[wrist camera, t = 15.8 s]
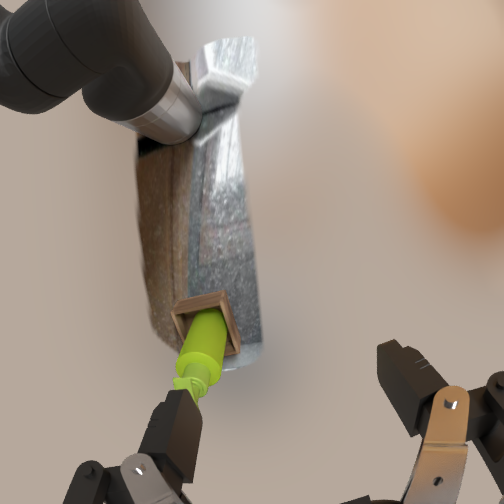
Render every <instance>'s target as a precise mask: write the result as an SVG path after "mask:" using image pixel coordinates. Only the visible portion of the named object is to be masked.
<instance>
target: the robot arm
mask: <svg viewBox="0 0 504 504" xmlns="http://www.w3.org/2000/svg"><path fill="white" fill-rule="evenodd" d="M81 88H82V95H83V99H84V101H85V103H86V105H87V106H88V108H89V109H90V110H91V111H92V112H94V113H95V114H97V115H99V116H101V117H104V118H106V119H108V120H110V121H113V122H115V123H117V124H120V125H122V126H124V127H127V128H129V129H131V130H133V131H135V132H138V133H140V134H142V135H144V136H146V137H149V138H151V139H153V140H155V141H157V142H160V143H162V144H166V145H175V144H179V143H182V142H184V141H186V140H187V139H189V138H190V137H191V136H192V135H193V134H194V133H195V132H196V131H197V129H198V128H199V126H200V123H201V120H202V108H201V105H200V103H199V101H198V99H197V98H196V96H195V94H194V92H193V91H192V89H191V87H190V86H189V84H188V83H187V81H186V79H185V78H184V76H183V74H182V73H181V71H180V70H179V68H178V67H177V65H176V63H175V62H174V60H173V59H172V57H171V55H170V54H169V52H168V51H167V49H166V48H165V46H164V45H163V43H162V41H161V40H160V38H159V37H158V35H157V33H156V32H155V30H154V28H153V27H152V25H151V24H150V22H149V20H148V18H147V16H146V15H145V13H144V11H143V9H142V7H141V5H140V3H139V1H138V0H28V1H27V2H25V3H24V4H23V5H22V6H21V7H20V8H19V9H18V10H17V11H16V12H15V13H11V12H9V11H7V10H6V9H5V8H4V7H2V6H1V5H0V105H2V106H5V107H7V108H9V109H12V110H14V111H17V112H21V113H26V114H39V113H43V112H46V111H48V110H50V109H52V108H53V107H55V106H57V105H58V104H60V103H61V102H63V101H64V100H66V99H67V98H68V97H69V96H71V95H73V94H74V93H75V92H77V91H78V90H80V89H81ZM377 375H378V380H379V383H380V385H381V387H382V388H383V390H384V391H385V393H386V395H387V397H388V399H389V400H390V402H391V404H392V405H393V407H394V409H395V410H396V412H397V414H398V416H399V417H400V419H401V421H402V422H403V424H404V426H405V428H406V429H407V431H408V433H409V435H410V437H413V436H415V435H418V434H420V435H421V437H422V438H423V439H422V442H421V446H420V449H419V452H418V455H417V458H416V461H415V464H414V468H413V470H412V473H411V476H410V479H409V481H408V484H407V486H406V488H405V491H404V493H403V495H402V498H401V500H400V501H395V500H372V501H371V500H370V497H369V495H367V496H364V497H361V498H358V499H355V500H351V501H348V502H344V503H341V504H456V501H457V498H458V494H459V490H460V486H461V482H462V478H463V474H464V469H465V464H466V459H467V453H468V445H465V442H467V441H470V440H472V441H473V443H474V445H475V446H476V448H477V450H478V451H479V453H480V455H481V456H482V458H483V460H484V461H485V463H486V465H487V467H488V469H489V471H490V472H491V474H492V476H493V478H494V480H495V482H496V484H497V485H498V487H499V489H500V491H501V493H502V495H503V496H502V498H501V500H500V502H499V504H504V371H500V372H497V373H494V374H493V375H491V377H490V378H489V380H488V382H487V385H486V386H484V387H480V388H477V389H473V390H469V391H466V390H465V389H464V388H462V387H459V386H449V385H448V383H447V382H446V381H445V380H444V379H443V378H442V377H441V375H440V374H439V373H438V372H437V371H436V370H435V369H434V368H433V366H432V365H430V363H429V362H428V361H427V360H426V359H425V358H424V357H423V355H422V354H421V353H420V352H419V351H418V350H416V349H414V348H411V347H409V346H407V347H404V348H402V346H401V345H400V344H399V343H398V342H397V341H396V340H395V339H393V340H390V341H388V342H385V343H382V344H380V345H378V346H377ZM201 430H202V416H201V413H200V411H199V409H198V407H197V405H196V403H195V402H194V400H193V398H192V396H191V394H190V392H189V391H188V390H187V389H179V390H170V391H169V392H168V394H167V397H166V400H165V402H160V404H159V405H158V406H157V407H156V408H155V409H154V410H153V413H152V416H151V418H150V421H149V424H148V428H147V429H146V431H145V434H144V437H143V440H142V442H141V445H140V448H139V450H138V453H137V454H133V455H130V456H129V457H127V458H126V459H125V460H124V461H123V463H122V464H121V466H115V467H109V468H104V467H103V466H102V465H101V464H100V463H99V462H97V461H93V460H91V461H86V462H84V463H82V464H81V465H80V466H79V467H78V468H77V470H76V472H75V475H74V477H73V480H72V482H71V484H70V487H69V489H68V491H67V494H66V496H65V499H64V502H63V504H103V502H104V503H106V504H192V502H191V501H190V500H189V499H188V497H187V496H186V494H185V493H184V492H183V491H182V490H181V489H182V484H183V483H193V477H194V471H195V465H196V459H197V454H198V448H199V441H200V436H201Z"/></svg>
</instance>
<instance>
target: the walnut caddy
mask: <svg viewBox="0 0 504 504" xmlns="http://www.w3.org/2000/svg"><path fill="white" fill-rule="evenodd" d="M206 308H213V309H216V310H219V311H220V312H222V313H223V314H224V317H225V320H226V323H227V326H228V331H227V338H226V344H225V351H224V356H228V355H233V354H238V353H240V342H241V337H240V334H239V331H238V328H237V325H236V322H235V319H234V316H233V312H232V309H231V306H230V303H229V300H228V296H227V293H226V290H221V291H217V292H213V293H208V294H204V295H200V296H195V297H191V298H186V299H182V300H178V301H177V302H176V304H175V306H174V307H173V309H172V311H171V312H170V313H171V315H172V318H173V320H174V323H175V325H176V328H177V330H178V333H179V335H180V338H181V340H182V342H183V344H184V342H185V339H186V337H187V334H188V332H189V329H190V327H191V325H192V322H193V320H194V317H195V315H196V314H197V313H198V312H199V311H201V310H203V309H206Z"/></svg>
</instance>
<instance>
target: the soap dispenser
mask: <svg viewBox="0 0 504 504" xmlns="http://www.w3.org/2000/svg"><path fill="white" fill-rule="evenodd" d="M227 331H228V326H227V323H226V320H225V317H224V314H223V313H222V312H220V311H219V310H216V309H213V308H206V309H203V310H201V311H199V312H198V313H197V314H196V315H195V317H194V320H193V322H192V325H191V327H190V329H189V332H188V334H187V337H186V339H185V342H184V344H183V347H182V349H181V352H180V354H179V357H178V359H177V362H176V371H177V374H178V375H179V377H180V378H173V383H174V388H175V390H179V389H187V390H188V391H189V392H190V394H191V396H192V398H193V400H194V402H195V403H196V405H197V407H198V404H197V403H198V398H200V397H203V396H204V395H206V393H207V391H208V387H209V386H211V385H214V384H215V383H216V382H217V381H218V380H219V379H220V376H221V371H222V364H223V357H224V351H225V344H226V338H227ZM198 409H199V408H198ZM199 411H200V410H199Z"/></svg>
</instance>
